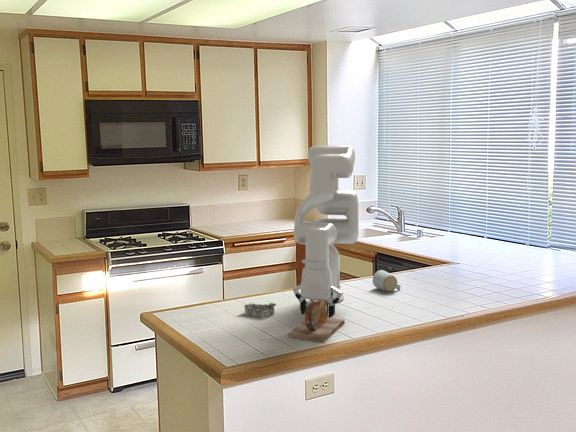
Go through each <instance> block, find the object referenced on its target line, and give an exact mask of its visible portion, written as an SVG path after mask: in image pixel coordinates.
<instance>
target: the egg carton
mask: <svg viewBox="0 0 576 432" xmlns="http://www.w3.org/2000/svg"><path fill="white" fill-rule="evenodd" d="M276 306H277V304H276V303H274V302H273V303H272V302H271V303H268V304H267V303H265V304H262V303H258V304H256V303H254V302H252V303H251V302H249V303H247V304H245V305H243V307H244V314H245V315H246V316H250V314H252V315H251V316H253V317H260V318H261V317H262V318H261V319H265V318H269V317H270V316H274V315H275V307H276ZM264 317H265V318H264Z"/></svg>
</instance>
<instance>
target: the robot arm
mask: <svg viewBox="0 0 576 432" xmlns="http://www.w3.org/2000/svg"><path fill="white" fill-rule="evenodd" d="M307 160H308V162H309V164H310V179H309V180H310V181H309V194H308V195H307V196H306V197H305V198H304V199H303V200H302V201H301V203H300V204H299V205H298V207H297V209H296V211H295V214H294V216H295V217H294V224H293V225H294V227H293V237H294V241H295V242H296V243H297V244H299V245H305V259H302V260H301V264H304V267H302V274H301V280H300V281H301V282H300V284H299V285H296V286H295V287H293V288H292V291H293V293H294V296H295V298H296V299H297V300H298V302H299V307H300V309H299V310H300V312H301V313H300V314H301V315H305V311H306V308H307V306H308V305H307V304H308V303H307V300H306V299H308V300H312V302H313V301H314V300H327V303H328V317H329V318H333V317H334V316H335V314H336V304H337V303H339V302H342V301H344V298H345V296H344V293H343V291H341V290H340V289H341V287H342V286H341V284H340V282H341V279H340V276H341V275H340V273H341V272H340V271H341V270H340V268H341V267H340V265H341V262H340V260H341V258H340V256H341V255H340V253H339V250H338V248H336V246H335V244H339V245H340V244H343V245H344V244H347V245H351V244H355V243H356V242H357V241H358V239H359V198H358V194H357V193H356V192H355V191H354V190H348V189H347V190H344V189H343V190H341V189H339V179H349V178H351V176H352V175H353V172H354V168H355V160H356V153H355V149H354V148H353V146H351V145H347V144H342V145H341V144H337V145H335V144H323V145H322V144H321V145H320V144H319V145H313V146H311V147H309V148H308V150H307ZM313 209H316V211H317V213H318V214H320V215H324V216H345V217H346V218H319V219H317V220H315V221H312V222H310V221H309V222H308V221H304V220H305V219H304V218H305V217H306V215H307V214H308V213H309V212H310V211H311V210H313Z"/></svg>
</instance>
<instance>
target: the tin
mask: <svg viewBox="0 0 576 432" xmlns="http://www.w3.org/2000/svg"><path fill="white" fill-rule="evenodd" d="M304 317H305V319H304V321H305V320H306V326H307V328H308V329H315V330H317V329H318V328H319V327H320V326H321V325H323V324H324V323H325V322H326V320H327V317H329V303H327V300H314V301H313V300H312V302H311V303H309V304H308V305H307V308H306V311H305V313H304Z"/></svg>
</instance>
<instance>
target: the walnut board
mask: <svg viewBox="0 0 576 432" xmlns="http://www.w3.org/2000/svg"><path fill="white" fill-rule="evenodd" d="M345 323H346V321H345V319H344V318H337V317H331V318H329V316H328V317H327V320H326V322H325V323H324V324H323V325H321V326H320V327H319V328H318V329H317V330H315V329H308V328H307V326H306V320H305V319H304V321H303V322H300V324H298V325H297V326H296V327H295V328H294V329H292V330H291V331H289V333H288V338H289V339H299V340H306V341H312V342H320V343H325V342H326V341H327V340H328V339H329V338H330V337H332V336H333V334H335V333H336V332H337V331H338V330H339V329H340V328H342V327H343V326H344V325H345ZM343 324H344V325H343Z"/></svg>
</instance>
